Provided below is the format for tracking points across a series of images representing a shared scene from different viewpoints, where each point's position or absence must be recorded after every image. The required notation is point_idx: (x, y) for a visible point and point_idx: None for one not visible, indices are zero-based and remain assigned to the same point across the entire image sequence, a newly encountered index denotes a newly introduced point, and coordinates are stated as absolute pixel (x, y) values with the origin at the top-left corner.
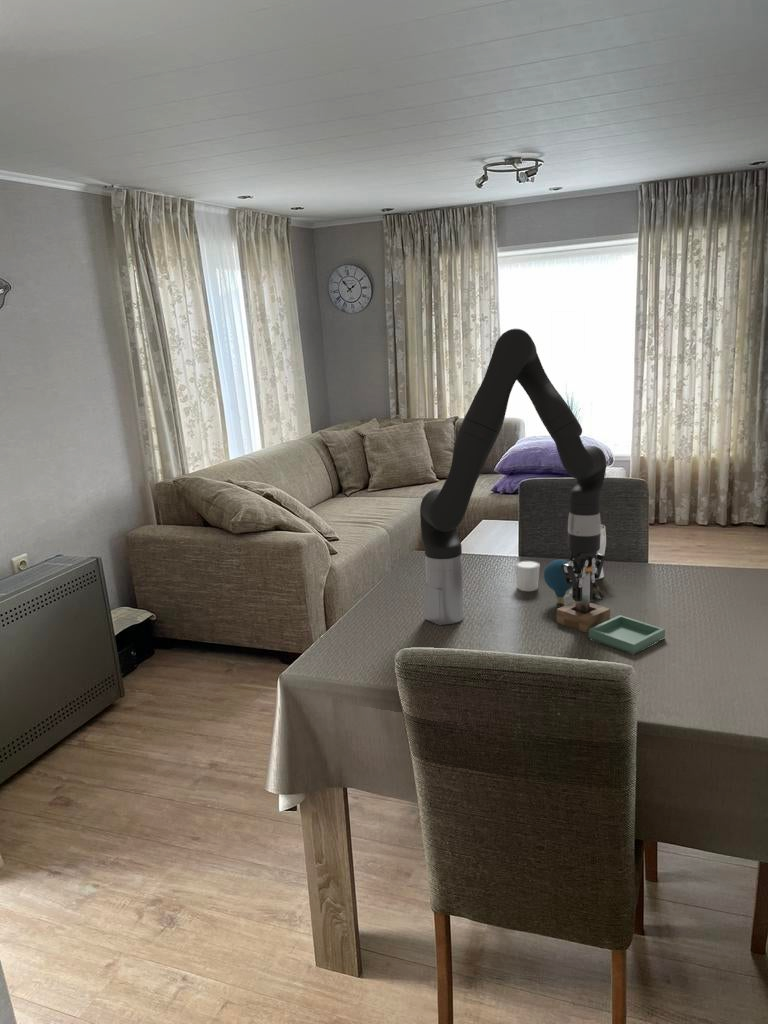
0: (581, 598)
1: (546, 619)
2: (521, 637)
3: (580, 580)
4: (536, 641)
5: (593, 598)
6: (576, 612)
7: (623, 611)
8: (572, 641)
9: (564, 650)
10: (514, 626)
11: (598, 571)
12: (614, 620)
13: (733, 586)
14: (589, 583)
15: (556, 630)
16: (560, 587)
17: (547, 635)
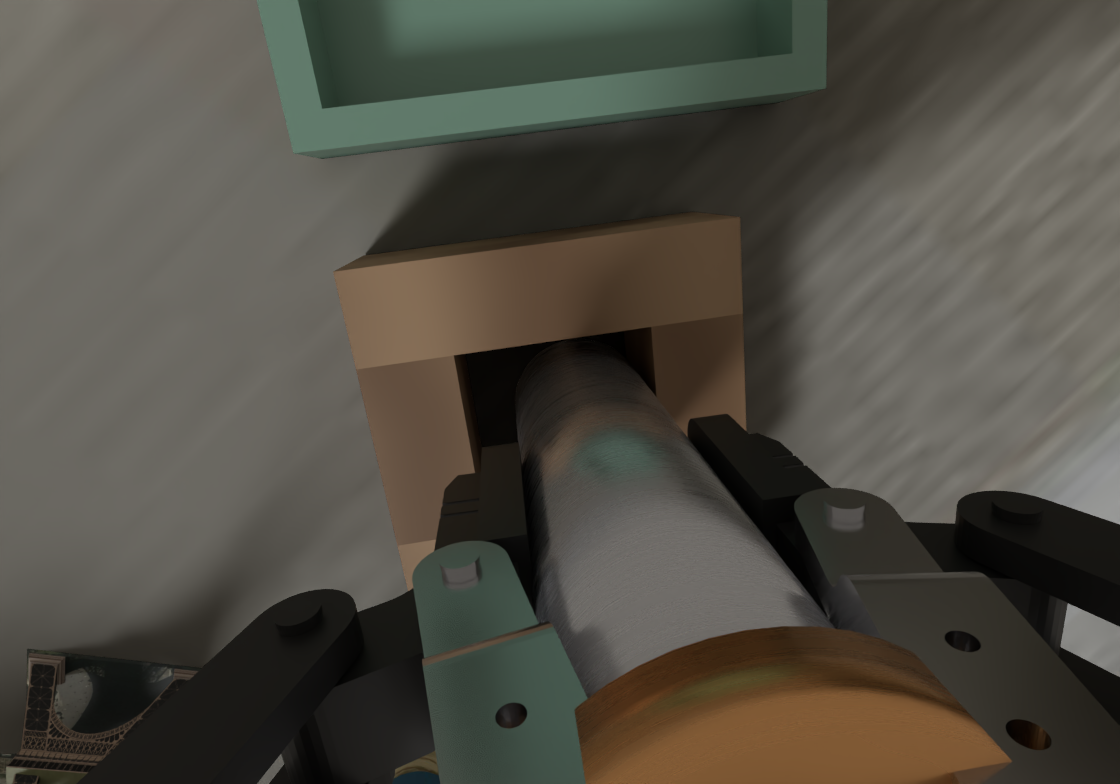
0: (708, 425)
1: None
2: (1077, 438)
3: (906, 560)
4: (1071, 327)
5: (126, 694)
6: (684, 403)
7: (72, 364)
8: (903, 156)
9: (1082, 64)
10: None
11: (257, 707)
12: (441, 95)
13: None
14: (624, 504)
15: (822, 391)
16: None
17: (937, 360)
